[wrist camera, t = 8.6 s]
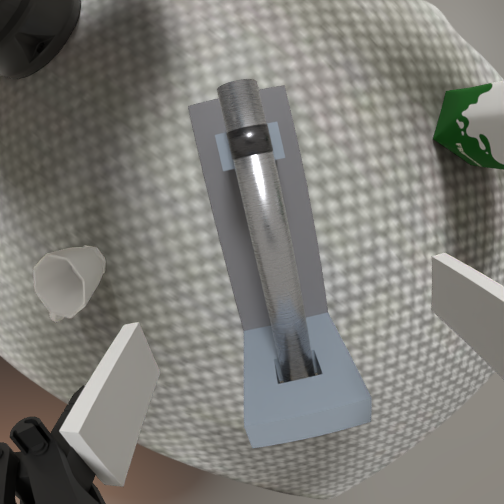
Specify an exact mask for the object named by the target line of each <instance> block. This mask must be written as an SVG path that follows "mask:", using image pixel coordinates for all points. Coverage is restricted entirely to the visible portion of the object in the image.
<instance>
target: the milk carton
mask: <svg viewBox="0 0 504 504" xmlns="http://www.w3.org/2000/svg"><path fill="white" fill-rule="evenodd" d="M433 140H435V141H436V142H438V143H439V144H441V145H443V146H444V147H446V148H447V149H449V150H450V151H451V152H453V153H454V154H456V155H457V156H459V157H460V158H462V159H463V160H464V161H466V162H467V163H469V164H470V165H474V166H480V167H487V168H496V169H504V80H503V81H499V82H494V83H489V84H485V85H480V86H476V87H471V88H464V89H457V90H450V91H446V93H445V97H444V101H443V105H442V109H441V112H440V116H439V120H438V123H437V127H436V130H435V134H434V137H433Z"/></svg>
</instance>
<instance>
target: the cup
mask: <svg viewBox="0 0 504 504" xmlns="http://www.w3.org/2000/svg"><path fill="white" fill-rule="evenodd" d="M105 265H106V258H105V257H104V256H103V255H102V253H101V252H100V250H99V249H98V248H97V247H92V246H87V245H85V246H83V247H70V248H66V249H62V250H58V251H54V252H50V253H46V254H45V255H44V256H43V257H42V259H41V260H40V261H39V262H38V263H37V264H36V265H35V266H34V268H33V277H34V289H35V293H36V295H37V296H38V298H39V299H40V300H41V302H42V303H43V304H44V305H45V307H46V308H47V309H48V311H49V312H50V315H49V318H50V319H52V320H53V321H54V322H56V323H57V322H59V321H61V320H62V319H63V318H64V317H67V318H70V319H71V318H72V317H73V316H74V315H76V314H77V313H78V312H79V311H80V310H81V309H83V308H84V307H85V306H86V304H87V303H88V301H89V300H90V298H91V296H92V294H93V293H94V291H95V290H96V288H97V287H98V285H99V282H100V280H101V277H102V275H103V274H104V273H105Z"/></svg>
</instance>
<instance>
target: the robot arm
mask: <svg viewBox="0 0 504 504" xmlns="http://www.w3.org/2000/svg"><path fill="white" fill-rule="evenodd" d="M79 12H80V0H0V75H1V76H4V77H8V78H13V79H18V78H23V77H26V76H28V75H31V74H33V73H34V72H36V71H38V70H39V69H40V68H42V67H43V66H44V65H46V64H47V63H48V62H49V61H50V60H51V59H52V58H53V57H54V56H55V55H56V54H57V53H58V52H59V50H60V49H61V48H62V46H63V45H64V44H65V42H66V41H67V39H68V38H69V36H70V34H71V33H72V31H73V29H74V26H75V24H76V22H77V19H78V16H79ZM431 310H432V311H433V312H434V313H435V314H436V315H437V316H438V317H439V318H440V319H442V320H443V321H444V322H445V323H446V324H447V325H448V326H449V327H450V328H451V329H452V330H453V331H454V332H456V333H457V334H458V335H459V336H460V337H461V338H462V339H463V340H464V341H465V342H466V343H467V344H468V345H469V346H470V347H471V348H472V349H473V350H474V351H475V352H476V353H477V354H478V355H479V356H480V357H481V358H482V359H483V360H484V361H485V362H486V363H487V364H488V365H489V366H490V367H491V368H492V369H493V370H494V371H495V372H496V373H497V374H498V375H499V376H500V377H501V378H502V379H503V380H504V286H502V285H500V284H499V283H497V282H495V281H494V280H492V279H490V278H489V277H487V276H485V275H484V274H482V273H480V272H479V271H477V270H475V269H473V268H472V267H470V266H468V265H466V264H465V263H463V262H461V261H459V260H457V259H456V258H454V257H452V256H450V255H448V254H446V253H442V254H438V255H435V256H432V306H431ZM159 375H160V370H159V368H158V365H157V363H156V361H155V359H154V356H153V354H152V352H151V350H150V347H149V345H148V342H147V340H146V338H145V335H144V333H143V330H142V328H141V326H140V323H139V322H137V323H131V324H125V325H124V326H123V327H122V329H121V330H120V332H119V333H118V335H117V336H116V338H115V339H114V341H113V343H112V344H111V346H110V347H109V349H108V350H107V352H106V353H105V355H104V357H103V358H102V360H101V361H100V363H99V365H98V366H97V368H96V369H95V371H94V373H93V374H92V376H91V378H90V379H89V381H88V382H87V384H86V386H82V387H81V388H80V389H79V390H78V391H77V392H76V393H74V395H73V396H72V398H71V400H70V401H69V405H67V406H66V408H65V409H64V412H63V413H62V414H61V416H60V418H59V419H58V421H57V423H56V425H55V426H54V428H53V430H52V431H51V433H50V432H49V431H48V430H47V428H46V427H45V426H44V424H43V423H42V422H41V420H40V419H39V418H37V417H27V418H24V419H22V420H21V421H19V422H18V423H17V424H16V425H15V426H14V427H13V428H12V430H11V432H10V438H11V439H12V440H13V442H14V443H15V444H16V445H17V447H18V448H19V449H20V450H21V452H13V451H12V449H11V448H10V447H9V446H8V445H7V444H6V443H0V504H17V503H16V501H15V495H16V496H17V497H18V498H19V499H20V504H106V503H105V502H104V500H103V498H102V496H101V494H100V492H99V490H98V488H97V487H96V486H95V485H94V484H93V480H94V477H95V475H96V476H97V477H98V478H99V479H100V481H101V482H102V483H103V484H104V485H113V486H124V483H125V479H126V476H127V473H128V469H129V466H130V463H131V460H132V456H133V453H134V450H135V447H136V444H137V441H138V438H139V434H140V431H141V428H142V425H143V422H144V419H145V416H146V413H147V410H148V407H149V404H150V401H151V398H152V395H153V392H154V389H155V387H156V384H157V381H158V378H159Z"/></svg>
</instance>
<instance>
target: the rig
mask: <svg viewBox="0 0 504 504" xmlns="http://www.w3.org/2000/svg"><path fill="white" fill-rule="evenodd" d="M259 94H260V98H261V102H262V106H263V110H264V114H265V119H266V123H267V124H268V128H269V133H270V137H271V141H272V146H273V153H274V158H275V163H276V167H277V172H278V176H279V181H280V186H281V190H282V195H283V200H284V205H285V210H286V214H287V219H288V224H289V229H290V234H291V240H292V245H293V250H294V255H295V260H296V266H297V271H298V277H299V282H300V288H301V293H302V299H303V304H304V310H305V316H306V322H307V328H308V334H309V340H310V346H311V352H312V359H313V365H314V372H315V373H318V375H317V376H312V377H308V378H304V379H299V380H295V381H290V382H285V383H281V384H280V382H279V381H283V376H282V371H281V367H280V363H279V358H278V354H277V349H276V345H275V341H274V336H273V332H272V327H271V323H270V319H269V314H268V310H267V306H266V301H265V297H264V293H263V288H262V284H261V279H260V275H259V271H258V266H257V262H256V258H255V253H254V249H253V245H252V240H251V236H250V232H249V227H248V223H247V218H246V214H245V210H244V205H243V201H242V197H241V192H240V188H239V184H238V179H237V175H236V171H235V166H234V162H233V159H232V157H231V152H230V148H229V144H228V139H227V135H226V133H227V132H226V128H225V123H224V119H223V115H222V110H221V106H220V102H219V98H218V99H214V100H210V101H206V102H202V103H198V104H194V105H191V106H188V109H189V113H190V117H191V122H192V126H193V131H194V135H195V139H196V144H197V148H198V152H199V157H200V161H201V165H202V169H203V174H204V178H205V182H206V186H207V190H208V194H209V198H210V202H211V207H212V211H213V215H214V219H215V223H216V227H217V231H218V235H219V239H220V243H221V246H222V250H223V254H224V258H225V262H226V266H227V270H228V274H229V277H230V281H231V285H232V289H233V293H234V296H235V300H236V304H237V308H238V311H239V315H240V319H241V322H242V326H243V330H244V428H245V430H246V433H247V435H248V438H249V441H250V443H251V446H252V448H258V447H264V446H270V445H276V444H282V443H287V442H292V441H297V440H302V439H307V438H311V437H316V436H320V435H324V434H328V433H332V432H336V431H340V430H344V429H347V428H351V427H354V426H358V425H361V424H365V423H368V422H371V396H370V393H369V391H368V389H367V387H366V385H365V383H364V381H363V379H362V377H361V375H360V373H359V371H358V369H357V367H356V365H355V363H354V362H353V360H352V358H351V356H350V354H349V352H348V350H347V348H346V346H345V344H344V342H343V340H342V338H341V336H340V334H339V332H338V330H337V329H336V327H335V325H334V323H333V321H332V319H331V317H330V315H329V313H328V308H327V301H326V294H325V287H324V281H323V274H322V268H321V261H320V255H319V249H318V243H317V237H316V231H315V226H314V220H313V215H312V209H311V204H310V199H309V194H308V188H307V183H306V178H305V174H304V169H303V164H302V159H301V154H300V150H299V145H298V141H297V136H296V132H295V127H294V123H293V119H292V115H291V110H290V106H289V102H288V98H287V94H286V90H285V86H284V85H283V86H277V87H271V88H266V89H260V90H259Z"/></svg>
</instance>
